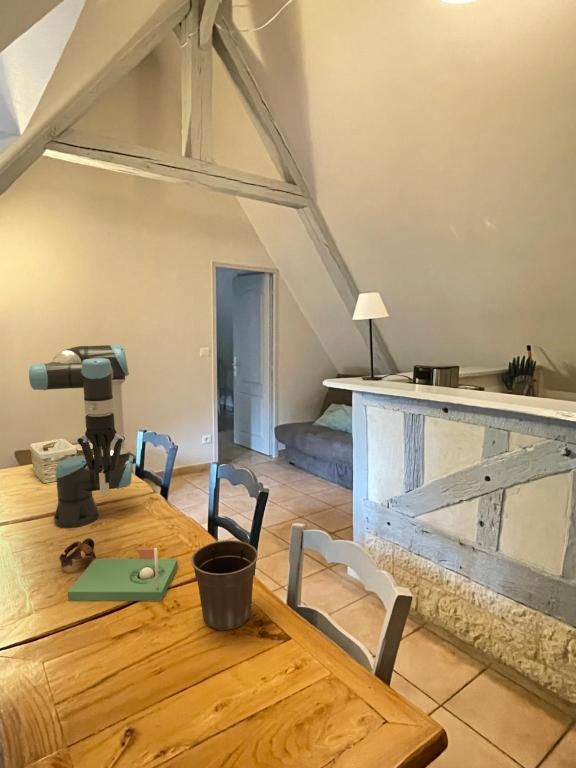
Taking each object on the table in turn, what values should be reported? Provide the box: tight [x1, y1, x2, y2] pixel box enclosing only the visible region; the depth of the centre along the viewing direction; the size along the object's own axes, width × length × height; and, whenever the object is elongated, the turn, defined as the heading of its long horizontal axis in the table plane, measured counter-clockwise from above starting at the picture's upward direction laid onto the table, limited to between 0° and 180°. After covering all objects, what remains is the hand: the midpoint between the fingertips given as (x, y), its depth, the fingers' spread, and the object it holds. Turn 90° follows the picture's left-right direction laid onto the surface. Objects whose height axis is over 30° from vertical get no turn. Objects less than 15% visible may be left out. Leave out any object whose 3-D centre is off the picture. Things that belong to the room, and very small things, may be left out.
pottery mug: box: [58, 537, 98, 568], centre depth 141 cm, size 12×10×8 cm
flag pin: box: [138, 547, 159, 590], centre depth 123 cm, size 1×5×14 cm, turn 89°
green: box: [67, 558, 179, 602], centre depth 131 cm, size 25×17×2 cm
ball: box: [139, 567, 154, 580], centre depth 131 cm, size 4×4×4 cm
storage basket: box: [29, 438, 78, 484], centre depth 220 cm, size 24×16×15 cm
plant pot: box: [190, 539, 259, 631], centre depth 115 cm, size 16×16×16 cm
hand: (104, 492), depth 133 cm, fingers closed
